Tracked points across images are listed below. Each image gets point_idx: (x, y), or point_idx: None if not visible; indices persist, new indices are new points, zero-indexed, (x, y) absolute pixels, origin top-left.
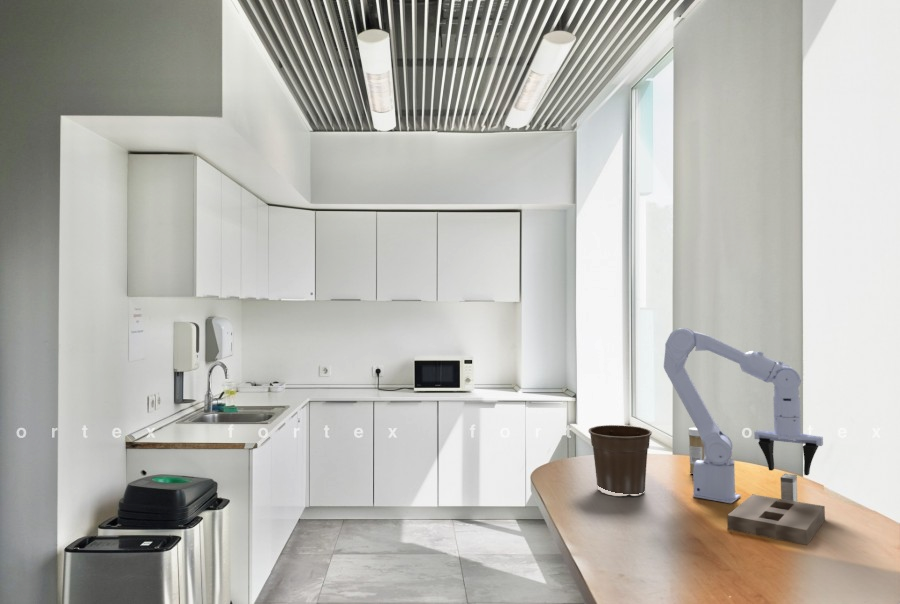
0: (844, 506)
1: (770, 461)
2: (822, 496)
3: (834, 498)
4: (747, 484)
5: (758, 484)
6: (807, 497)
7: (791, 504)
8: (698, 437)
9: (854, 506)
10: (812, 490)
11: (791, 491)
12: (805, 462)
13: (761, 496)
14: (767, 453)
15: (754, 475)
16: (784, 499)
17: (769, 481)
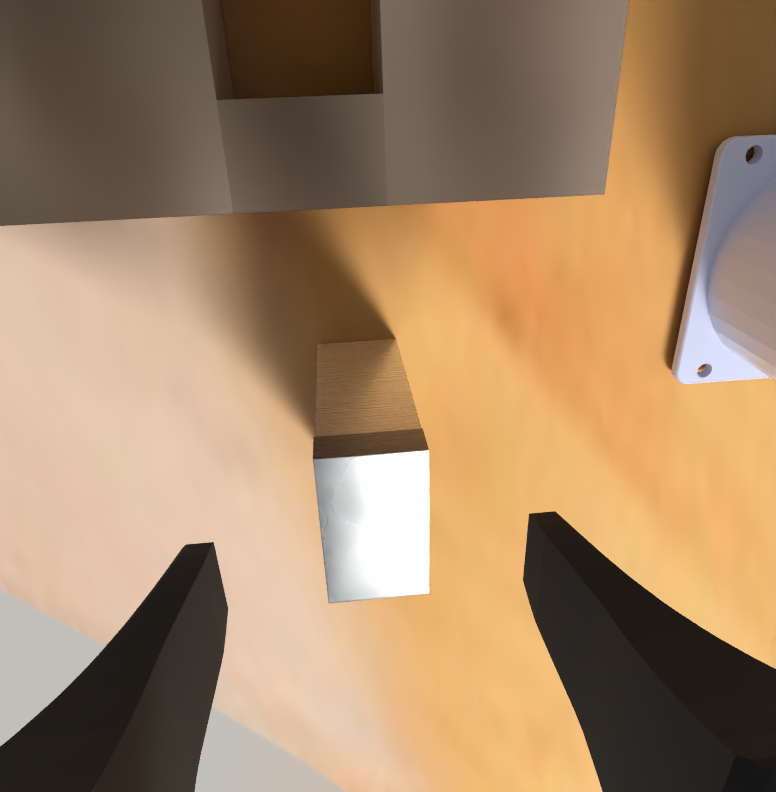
0: (106, 578)
1: (576, 569)
2: (269, 671)
3: None
4: None
5: None
6: (325, 612)
7: (241, 99)
8: None
9: (68, 610)
10: (344, 729)
11: (328, 398)
12: (148, 642)
13: (524, 177)
14: (659, 639)
15: None
16: (378, 360)
17: (558, 741)
